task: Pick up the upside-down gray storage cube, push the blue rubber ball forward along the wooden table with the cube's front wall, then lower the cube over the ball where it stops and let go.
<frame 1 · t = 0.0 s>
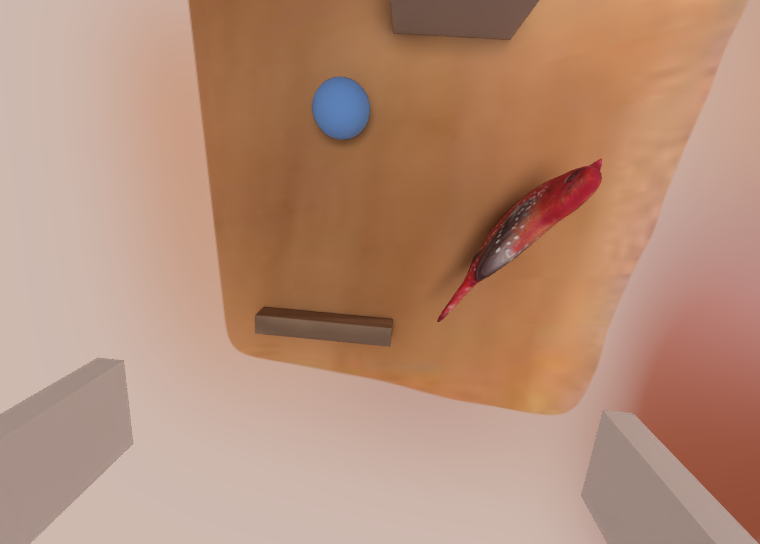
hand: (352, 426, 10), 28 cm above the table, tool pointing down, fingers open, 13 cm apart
ball: (341, 109, 32), on the table
decorative bird figurine: (491, 235, 36), on the table
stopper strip: (327, 321, 40), on the table
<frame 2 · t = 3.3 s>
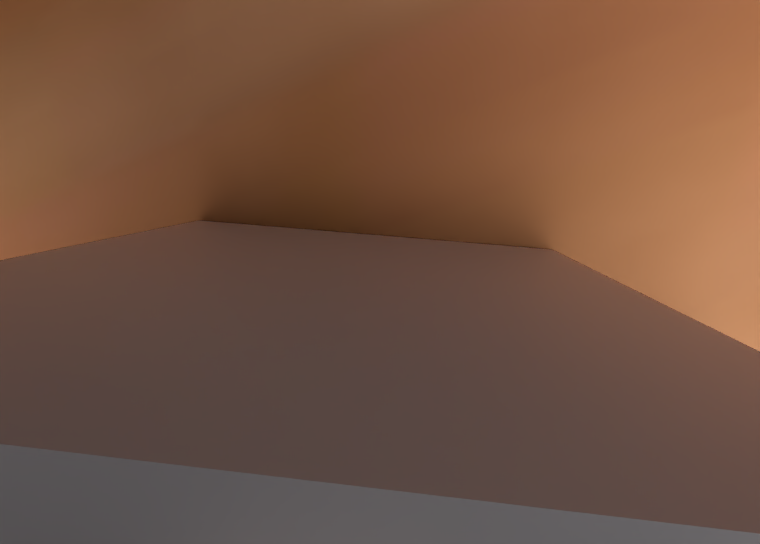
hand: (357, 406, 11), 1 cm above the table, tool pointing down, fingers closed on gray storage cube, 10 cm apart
gray storage cube: (360, 391, 12), on the table, touching gripper
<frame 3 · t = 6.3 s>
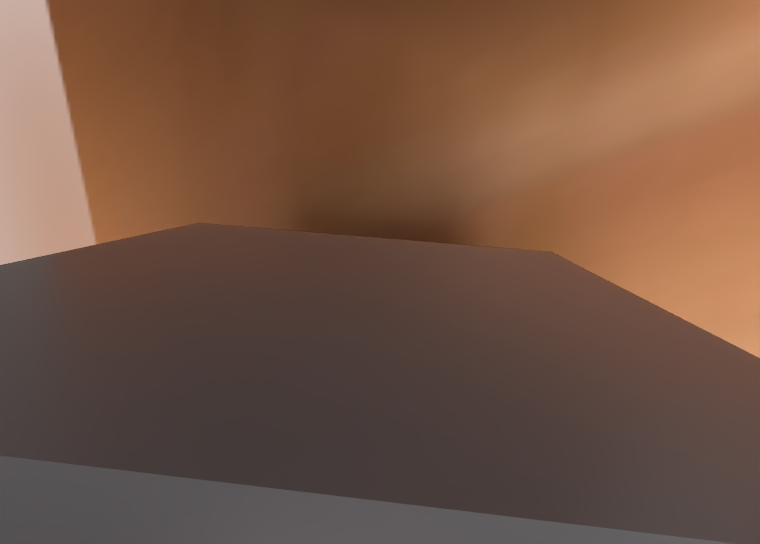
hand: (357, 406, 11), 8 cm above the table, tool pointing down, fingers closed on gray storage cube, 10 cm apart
gray storage cube: (360, 393, 12), point 8 cm above the table, touching gripper
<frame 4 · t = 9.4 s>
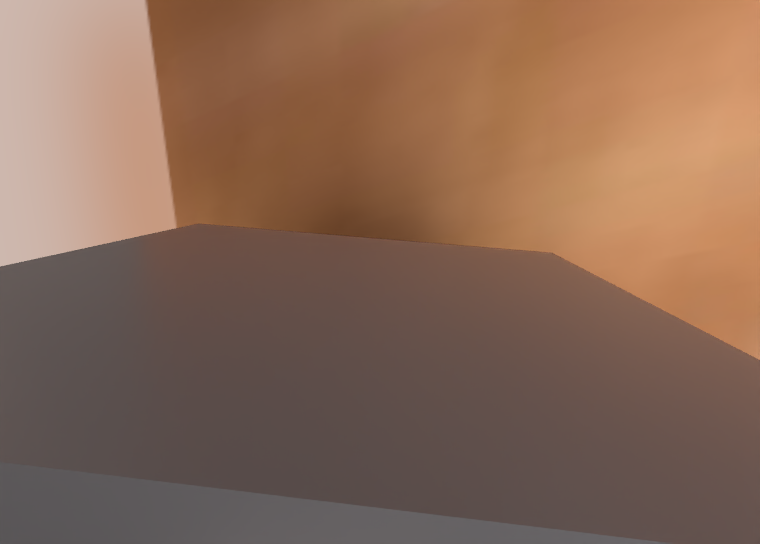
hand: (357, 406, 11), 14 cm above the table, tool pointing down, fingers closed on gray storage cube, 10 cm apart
gray storage cube: (360, 394, 12), point 14 cm above the table, touching gripper
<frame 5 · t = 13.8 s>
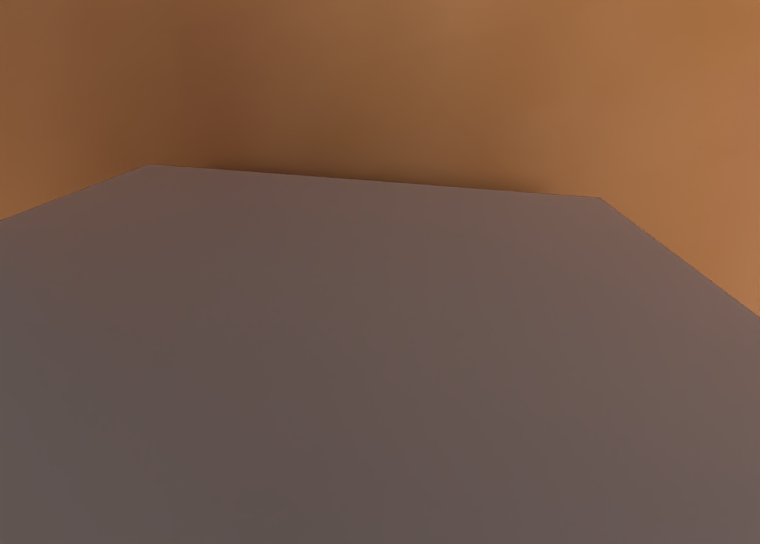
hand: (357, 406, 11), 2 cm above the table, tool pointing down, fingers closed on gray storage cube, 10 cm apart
gray storage cube: (361, 351, 11), point 1 cm above the table, tilted 15°, touching ball, gripper
when the fingers open (2 cm above the table, at t = 14.0 s): gray storage cube drops 1 cm, on the table.
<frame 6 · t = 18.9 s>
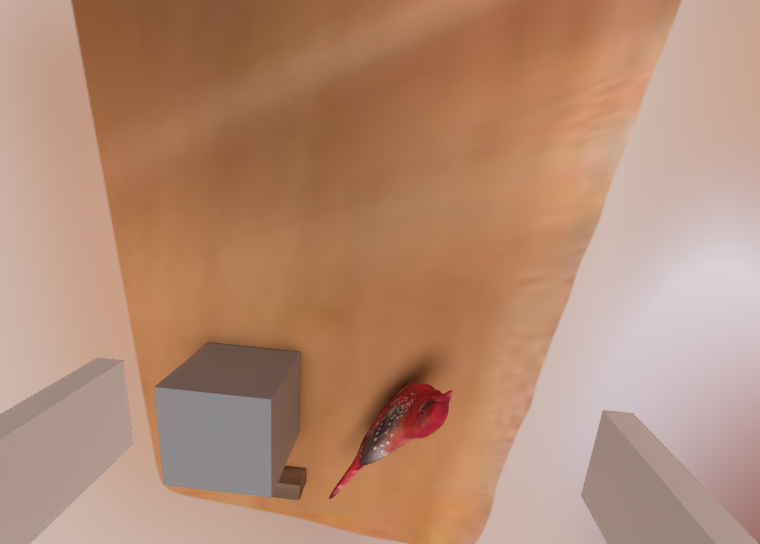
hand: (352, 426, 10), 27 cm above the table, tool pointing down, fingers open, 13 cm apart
decorative bird figurine: (389, 402, 40), on the table
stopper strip: (247, 468, 44), on the table
gray storage cube: (254, 389, 41), on the table
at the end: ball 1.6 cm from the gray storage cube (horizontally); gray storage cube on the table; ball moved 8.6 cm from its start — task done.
